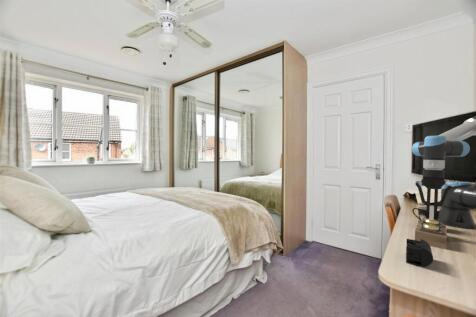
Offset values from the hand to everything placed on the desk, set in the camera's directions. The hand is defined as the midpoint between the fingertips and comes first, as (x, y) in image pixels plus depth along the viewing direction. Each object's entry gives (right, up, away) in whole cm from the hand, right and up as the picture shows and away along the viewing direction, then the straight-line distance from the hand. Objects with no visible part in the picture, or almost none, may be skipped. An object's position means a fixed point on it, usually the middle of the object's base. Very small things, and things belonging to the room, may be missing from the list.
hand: (431, 219), depth 104 cm
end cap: (-26, -9, -25) cm, 37 cm away
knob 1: (0, -3, 0) cm, 3 cm away
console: (-4, -8, -4) cm, 9 cm away
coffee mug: (+8, -8, +13) cm, 17 cm away
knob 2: (-7, -3, -8) cm, 11 cm away
